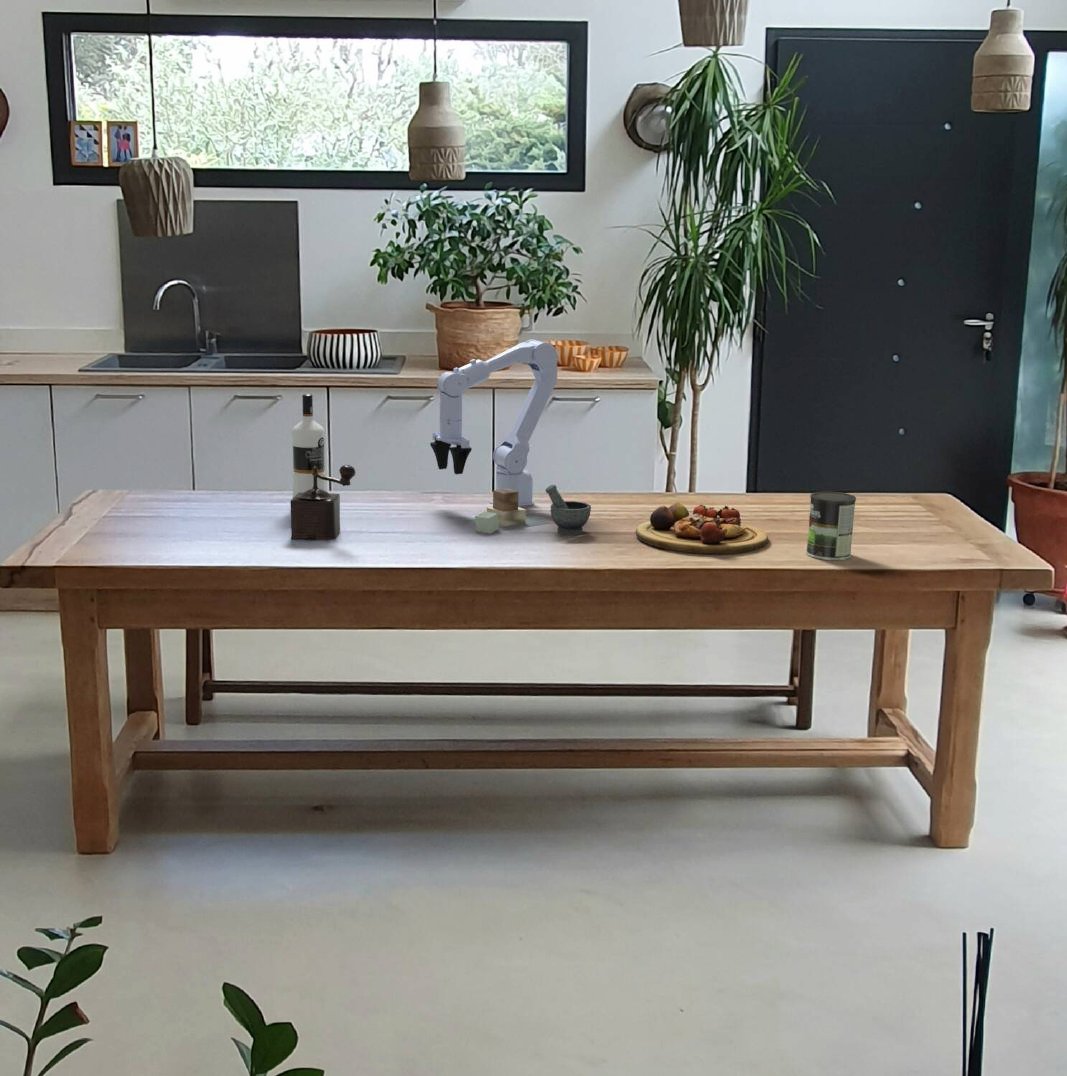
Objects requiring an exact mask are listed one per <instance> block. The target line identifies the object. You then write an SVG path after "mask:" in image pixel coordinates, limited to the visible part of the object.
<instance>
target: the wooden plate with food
mask: <svg viewBox="0 0 1067 1076" xmlns="http://www.w3.org/2000/svg"><path fill="white" fill-rule="evenodd" d="M741 521H742V520H741V513H740V511H739V510H738V509H735V507H732V508H729V506H727V505H724V507H723V508H720V509H719V510H716V509H715V507H708V508H707V507H706V506H705V505H703V504H698V505H697V506H694V508H693V511H692V514H690V512H689V510H688V509H687V507H686V506H685V505H683V504H681V503H680V502H679V501H676V502H675V503H673V504H672V505H670V506H669V507H667V506H666V505H665V504H663V505H661V506H659V507H657V508H655V509H654V510H653V512H651V515H650V516H649V521H646V522H643V523H641V524H639V525H638V526H637V528H636V529H635V535H636V537H637V539H638V540H639V541H641V542H643V543H645V544H648V545H650V546H654V547H658V548H660V549H666V550H671V551H678V552H685V553H696V554H715V555H716V554H719V555H720V554H721V555H722V554H738V553H746V552H752V551H756V550H759V549H761V548H764V547H765V546H766V545H767V544H768V543H769V536H768V534H767V533H766V531H764V530H763V529H760V528H759V527H755V526H753V525H749V524H745V523H743V522H741Z"/></svg>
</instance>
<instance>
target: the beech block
mask: <svg viewBox="0 0 1067 1076" xmlns="http://www.w3.org/2000/svg"><path fill="white" fill-rule="evenodd" d="M486 512H490V513H498V522H499V525H500V526H502V527H503V526H510V525H517V524H523V523H526V515H527V509H526V508H522V507H521V506H518V509H517V510H510V511H501V510H498V509H494V508H493V506H488V507H486Z"/></svg>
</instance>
